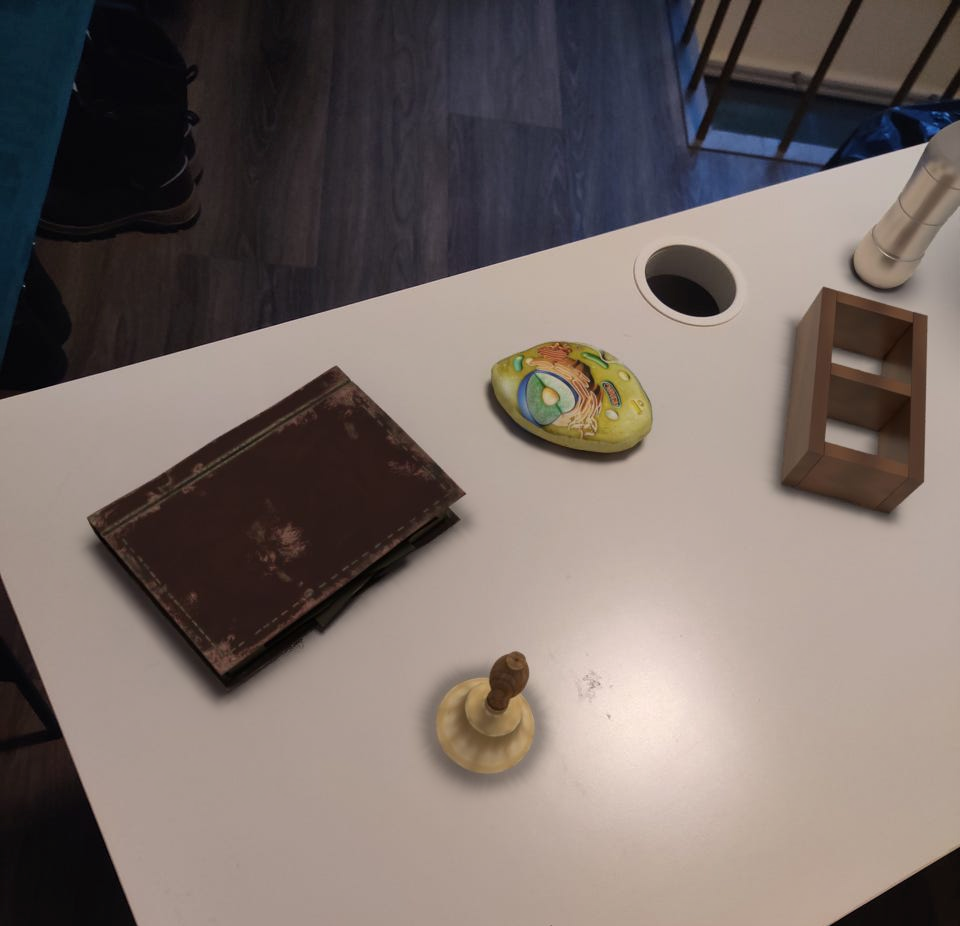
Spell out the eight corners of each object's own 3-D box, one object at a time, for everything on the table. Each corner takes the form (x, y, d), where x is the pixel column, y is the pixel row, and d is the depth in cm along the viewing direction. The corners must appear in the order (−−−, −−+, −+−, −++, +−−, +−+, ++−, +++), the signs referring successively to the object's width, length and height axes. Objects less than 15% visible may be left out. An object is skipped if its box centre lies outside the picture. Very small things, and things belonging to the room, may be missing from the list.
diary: (98, 540, 70) (79, 508, 66) (333, 392, 79) (331, 356, 74) (235, 701, 67) (226, 680, 62) (466, 528, 75) (473, 498, 71)
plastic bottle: (857, 243, 96) (973, 67, 77) (910, 271, 95) (1041, 101, 77) (837, 277, 93) (953, 104, 75) (892, 306, 93) (1022, 139, 74)
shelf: (893, 356, 90) (927, 315, 84) (886, 516, 82) (924, 482, 76) (795, 329, 90) (823, 286, 84) (778, 486, 81) (808, 450, 76)
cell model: (639, 473, 77) (503, 386, 72) (595, 490, 84) (469, 412, 79) (679, 373, 79) (550, 282, 74) (633, 398, 86) (512, 316, 81)
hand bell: (544, 767, 68) (594, 707, 53) (443, 784, 66) (466, 727, 52) (523, 671, 71) (564, 590, 56) (425, 686, 69) (442, 605, 55)
